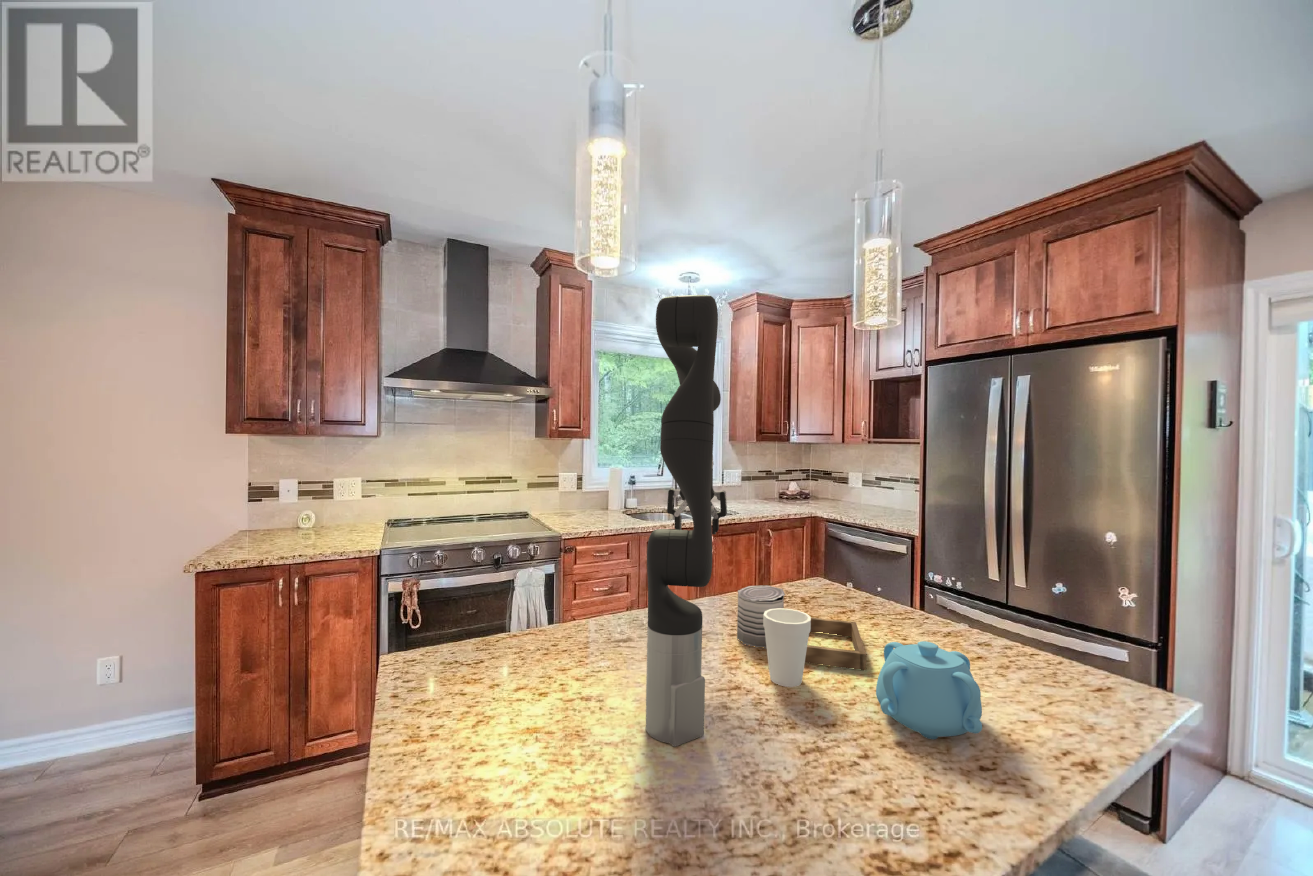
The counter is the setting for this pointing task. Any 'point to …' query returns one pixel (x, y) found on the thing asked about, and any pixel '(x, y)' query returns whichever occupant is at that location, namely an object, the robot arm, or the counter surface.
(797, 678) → the foam cup
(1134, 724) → the counter surface
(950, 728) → the decorative pot
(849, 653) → the tray
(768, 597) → the can
